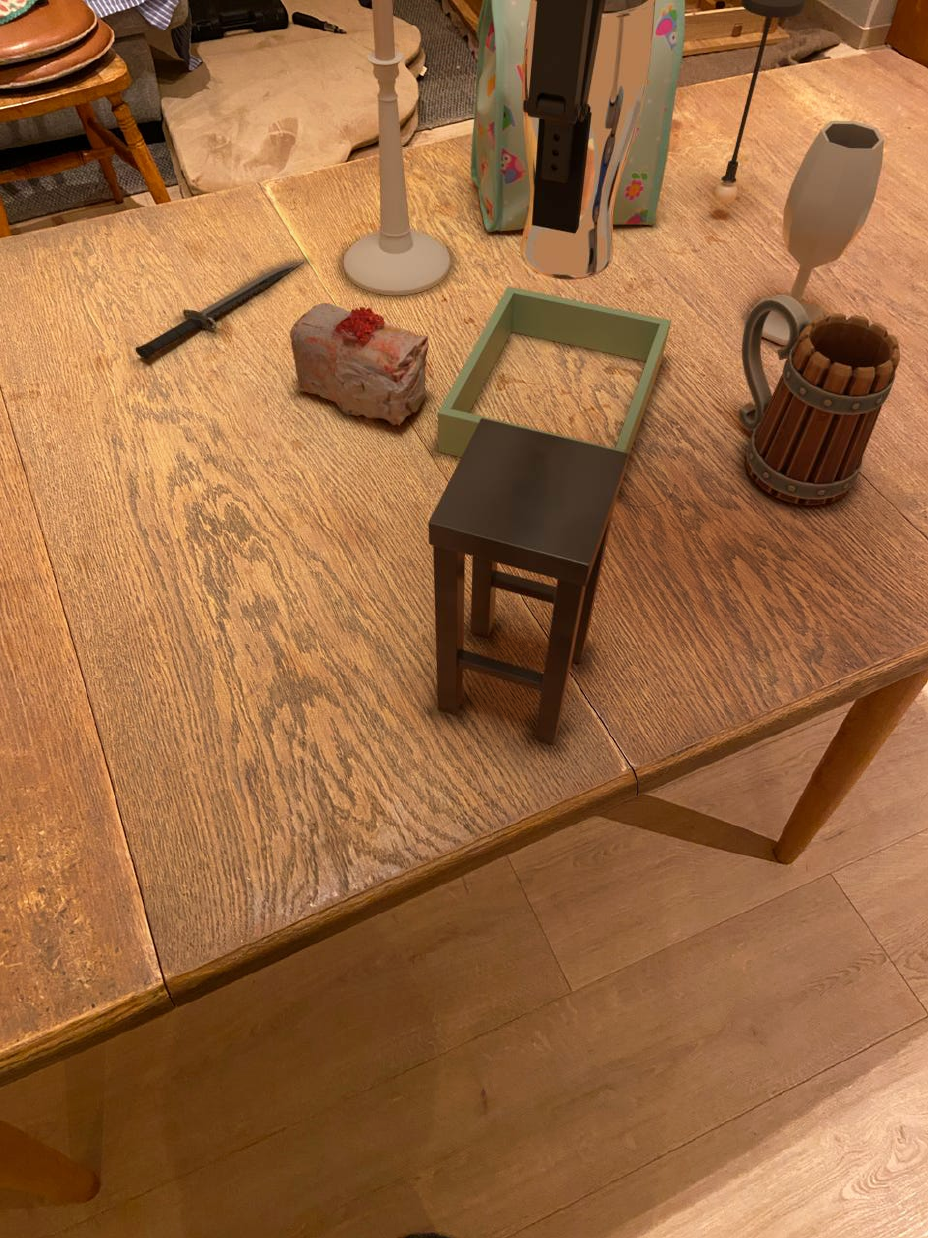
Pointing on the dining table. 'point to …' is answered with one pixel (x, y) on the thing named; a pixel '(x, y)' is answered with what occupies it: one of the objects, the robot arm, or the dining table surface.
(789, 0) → the light fixture
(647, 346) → the green rectangular open frame
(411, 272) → the candlestick
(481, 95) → the lunch bag
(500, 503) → the stool
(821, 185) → the wineglass
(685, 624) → the dining table surface
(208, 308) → the knife
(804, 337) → the mug
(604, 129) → the beer glass
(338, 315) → the food item
